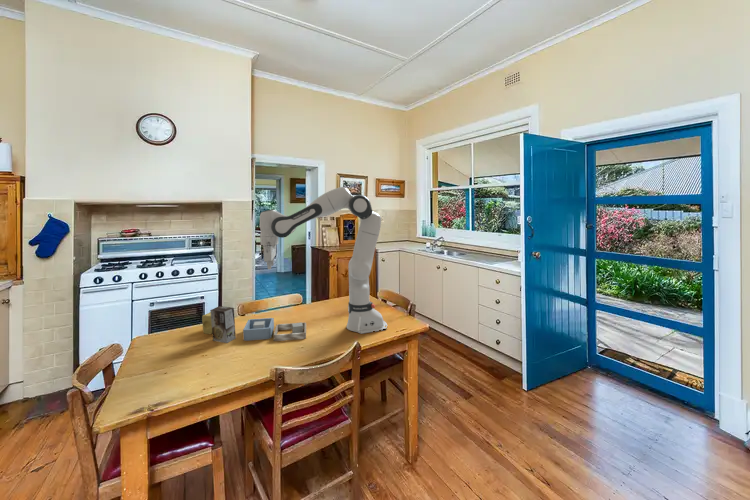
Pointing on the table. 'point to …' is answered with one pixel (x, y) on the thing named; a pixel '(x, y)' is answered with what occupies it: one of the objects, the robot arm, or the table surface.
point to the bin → (258, 329)
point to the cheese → (207, 323)
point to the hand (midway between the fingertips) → (270, 267)
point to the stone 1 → (259, 324)
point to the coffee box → (223, 324)
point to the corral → (288, 336)
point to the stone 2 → (297, 327)
